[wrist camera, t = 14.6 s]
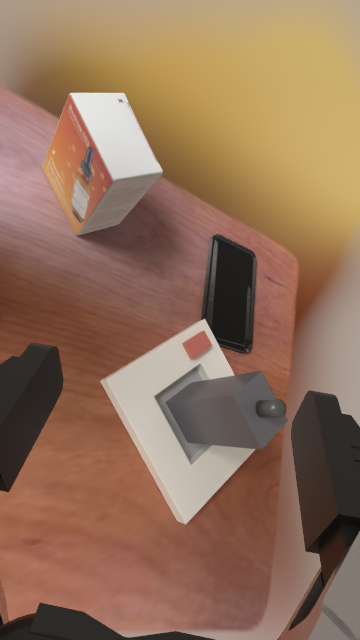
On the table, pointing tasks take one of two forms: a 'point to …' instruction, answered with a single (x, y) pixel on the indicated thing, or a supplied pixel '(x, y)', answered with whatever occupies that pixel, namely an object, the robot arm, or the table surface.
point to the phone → (230, 293)
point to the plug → (229, 411)
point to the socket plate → (160, 426)
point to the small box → (99, 161)
